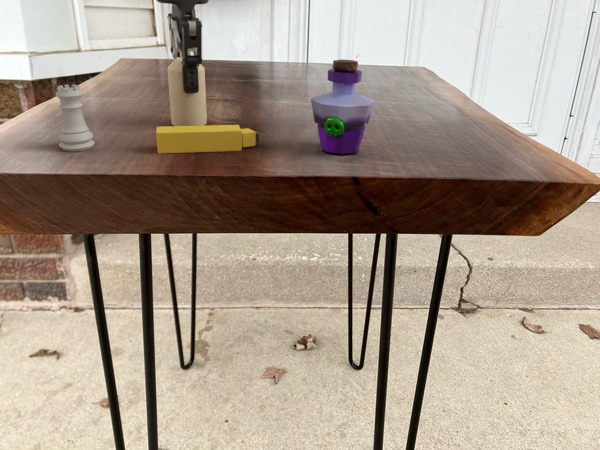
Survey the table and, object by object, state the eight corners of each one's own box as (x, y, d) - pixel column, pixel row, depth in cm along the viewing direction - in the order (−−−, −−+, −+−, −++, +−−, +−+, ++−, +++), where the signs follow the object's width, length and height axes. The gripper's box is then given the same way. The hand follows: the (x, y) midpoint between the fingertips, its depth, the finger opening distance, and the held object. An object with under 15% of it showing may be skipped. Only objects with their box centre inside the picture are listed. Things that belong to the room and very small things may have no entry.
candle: (211, 120, 85) (209, 56, 81) (200, 129, 80) (196, 61, 76) (179, 118, 86) (175, 54, 82) (165, 126, 81) (160, 59, 77)
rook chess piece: (59, 143, 71) (50, 83, 68) (95, 141, 73) (87, 82, 69) (58, 153, 68) (47, 90, 64) (95, 150, 69) (87, 89, 66)
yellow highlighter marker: (157, 153, 69) (155, 132, 68) (158, 146, 72) (156, 125, 71) (261, 150, 72) (261, 130, 70) (257, 143, 75) (257, 123, 74)
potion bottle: (309, 158, 69) (313, 63, 64) (307, 140, 77) (310, 54, 72) (375, 160, 69) (384, 65, 64) (366, 141, 77) (373, 56, 72)
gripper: (146, -35, 78) (156, 81, 86) (160, -35, 66) (170, 99, 74) (196, -33, 81) (201, 79, 88) (219, -33, 69) (222, 97, 76)
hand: (187, 88), depth 81 cm, fingers closed on candle, 5 cm apart
